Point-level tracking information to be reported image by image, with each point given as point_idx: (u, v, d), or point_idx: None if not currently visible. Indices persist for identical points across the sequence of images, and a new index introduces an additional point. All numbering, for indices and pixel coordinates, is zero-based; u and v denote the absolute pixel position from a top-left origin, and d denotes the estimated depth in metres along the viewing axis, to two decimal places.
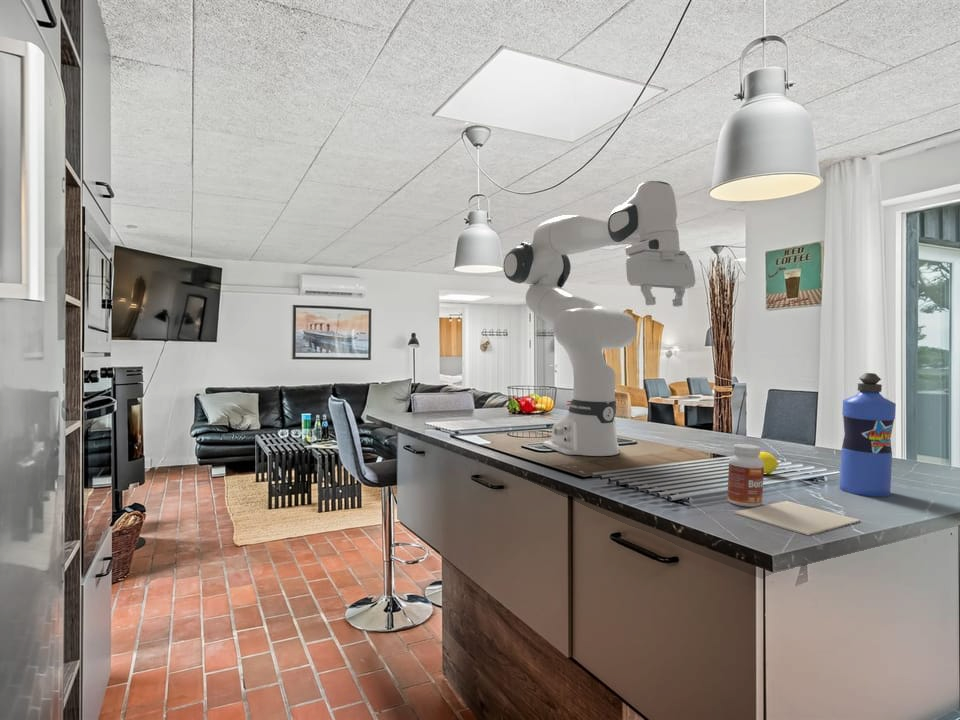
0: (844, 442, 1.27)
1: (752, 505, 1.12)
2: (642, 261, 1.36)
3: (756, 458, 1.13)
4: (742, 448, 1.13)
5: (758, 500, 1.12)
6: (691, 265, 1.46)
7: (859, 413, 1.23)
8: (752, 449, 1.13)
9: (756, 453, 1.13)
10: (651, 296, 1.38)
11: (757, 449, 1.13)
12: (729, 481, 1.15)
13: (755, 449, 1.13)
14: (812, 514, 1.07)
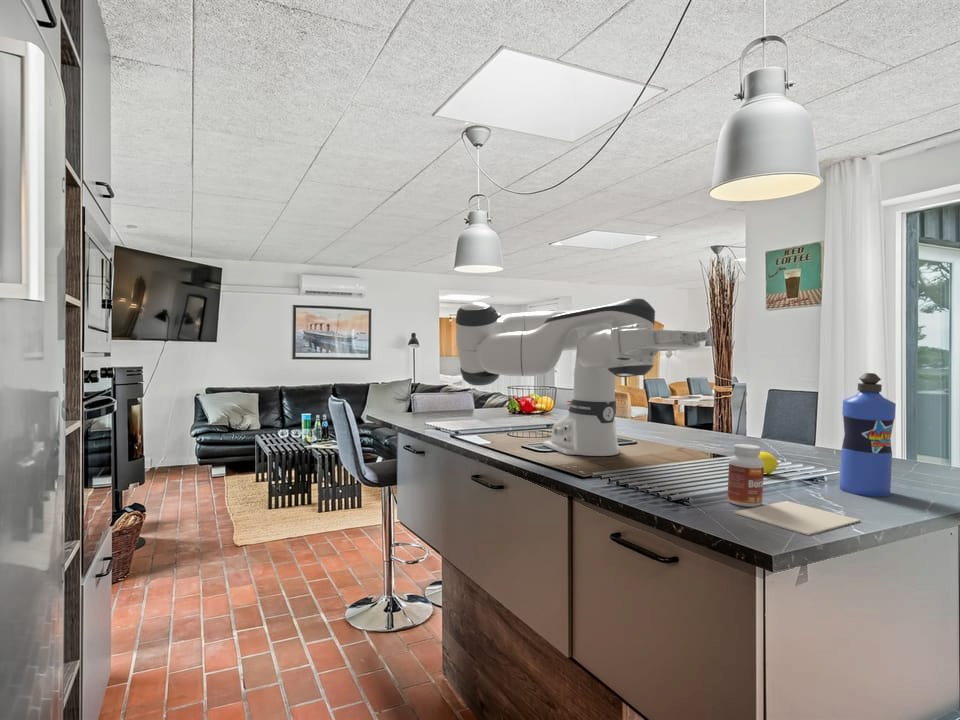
0: (844, 442, 1.27)
1: (752, 505, 1.12)
2: (626, 329, 1.22)
3: (756, 458, 1.13)
4: (742, 448, 1.13)
5: (758, 500, 1.12)
6: None
7: (859, 413, 1.23)
8: (752, 449, 1.13)
9: (756, 453, 1.13)
10: (670, 331, 1.18)
11: (757, 449, 1.13)
12: (729, 481, 1.15)
13: (755, 449, 1.13)
14: (812, 514, 1.07)
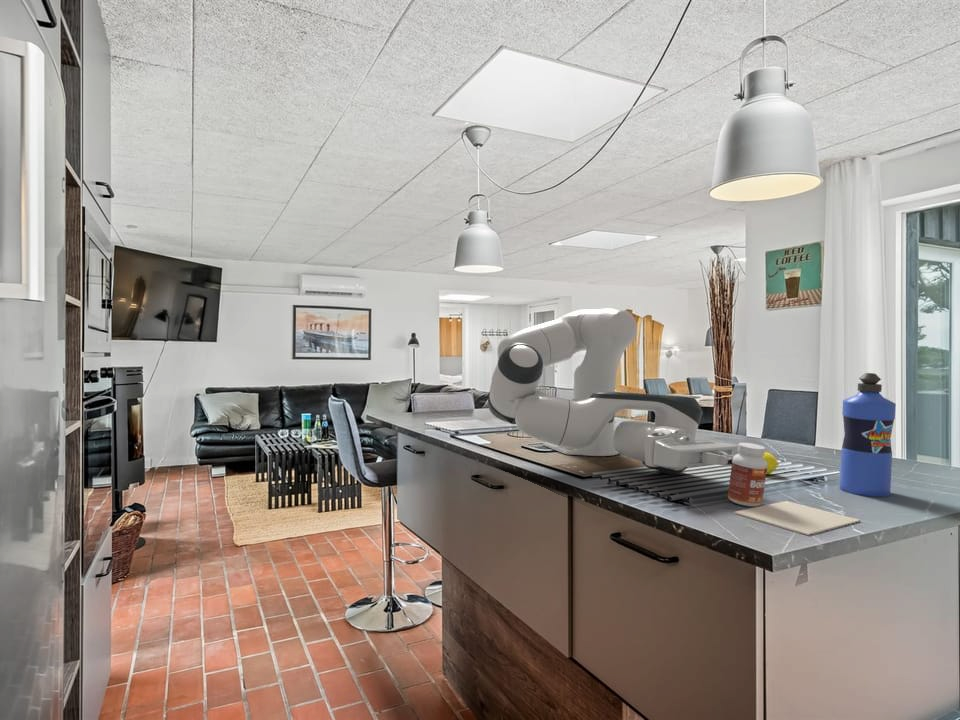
0: (844, 442, 1.27)
1: (752, 504, 1.12)
2: (661, 443, 1.20)
3: (760, 459, 1.12)
4: (747, 448, 1.12)
5: (758, 501, 1.12)
6: None
7: (859, 413, 1.23)
8: (757, 450, 1.12)
9: (760, 454, 1.12)
10: (718, 455, 1.17)
11: (762, 450, 1.12)
12: (731, 479, 1.15)
13: (760, 450, 1.12)
14: (812, 514, 1.07)
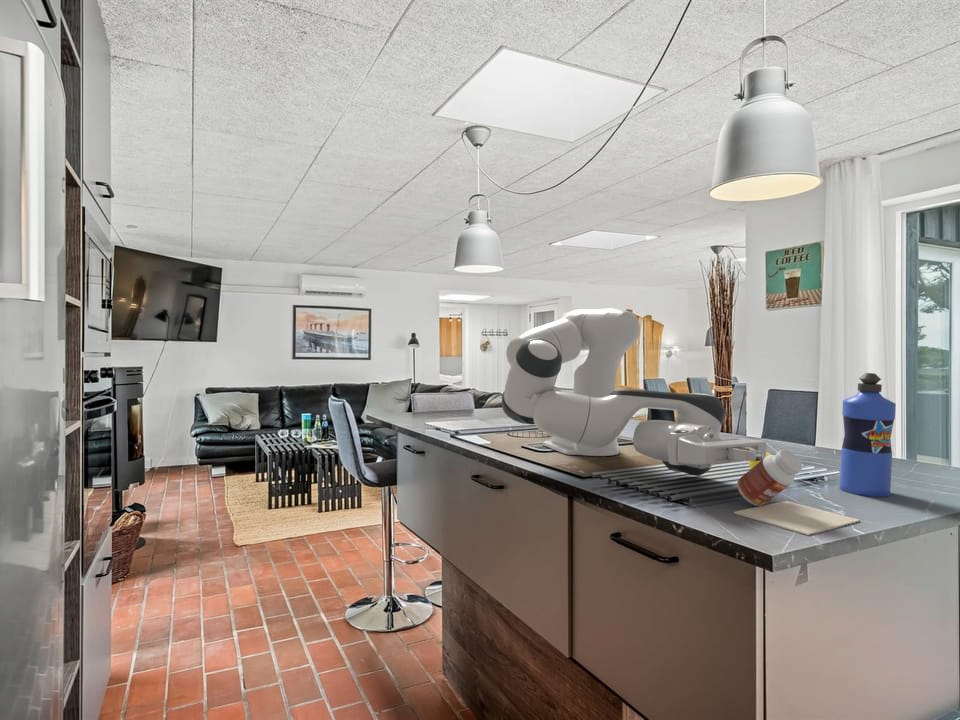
0: (844, 442, 1.27)
1: (754, 504, 1.12)
2: (685, 439, 1.15)
3: (789, 476, 1.08)
4: (785, 463, 1.06)
5: (762, 503, 1.12)
6: (741, 438, 1.25)
7: (859, 413, 1.23)
8: (793, 470, 1.06)
9: (794, 473, 1.07)
10: (746, 450, 1.13)
11: (797, 471, 1.06)
12: (750, 474, 1.12)
13: (796, 471, 1.06)
14: (812, 514, 1.07)
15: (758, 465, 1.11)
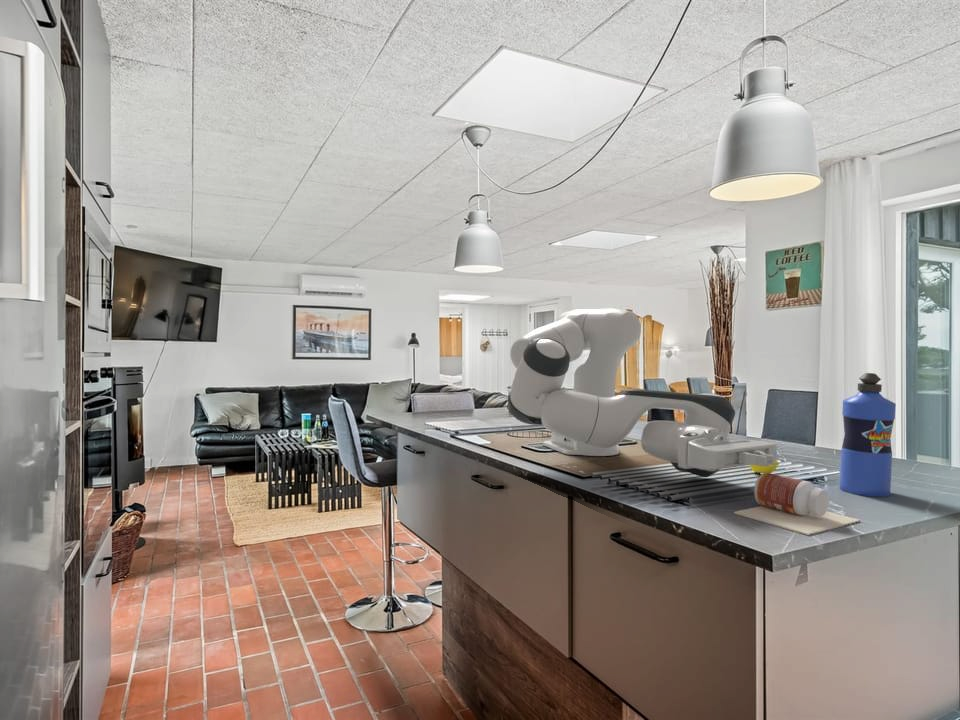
0: (844, 442, 1.27)
1: (757, 502, 1.12)
2: (695, 444, 1.14)
3: (808, 512, 1.05)
4: (814, 504, 1.03)
5: None
6: None
7: (859, 413, 1.23)
8: (816, 513, 1.03)
9: (813, 514, 1.04)
10: (757, 455, 1.12)
11: (818, 515, 1.04)
12: (778, 482, 1.08)
13: (817, 514, 1.04)
14: (812, 514, 1.07)
15: (791, 483, 1.07)
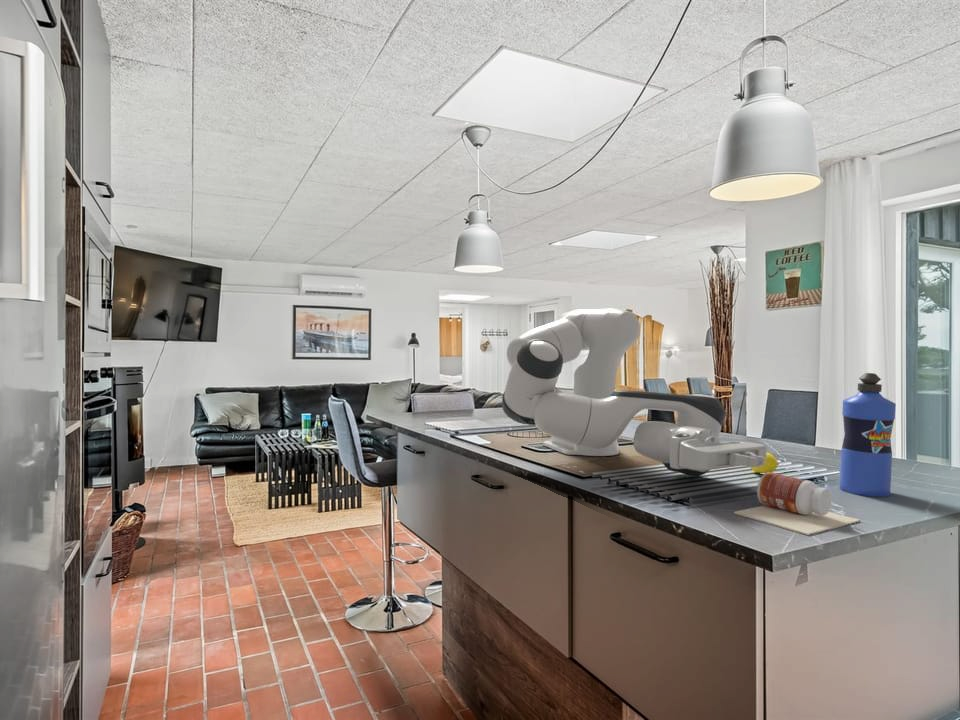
0: (844, 442, 1.27)
1: (759, 498, 1.12)
2: (687, 444, 1.16)
3: (809, 510, 1.06)
4: (818, 499, 1.03)
5: (764, 503, 1.12)
6: (741, 441, 1.26)
7: (859, 413, 1.23)
8: (817, 509, 1.04)
9: (814, 511, 1.05)
10: (747, 456, 1.13)
11: (819, 513, 1.04)
12: (783, 479, 1.09)
13: (818, 512, 1.04)
14: (812, 514, 1.07)
15: (796, 480, 1.08)
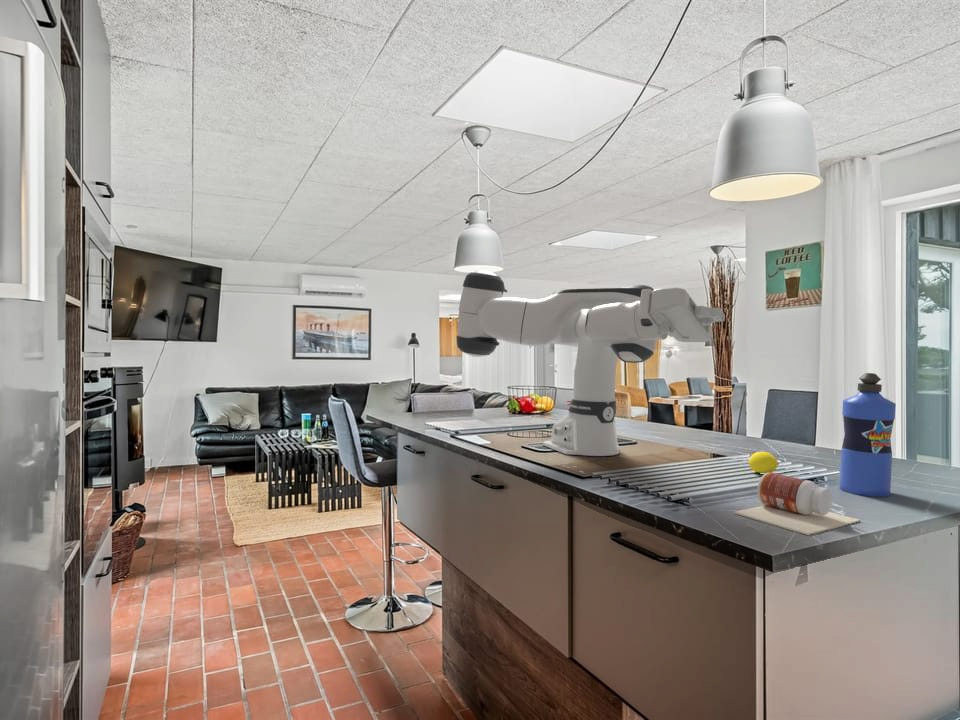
0: (844, 442, 1.27)
1: (759, 497, 1.12)
2: None
3: (809, 509, 1.06)
4: (818, 499, 1.03)
5: (765, 503, 1.12)
6: None
7: (859, 413, 1.23)
8: (818, 509, 1.04)
9: (814, 511, 1.05)
10: None
11: (819, 513, 1.04)
12: (783, 478, 1.09)
13: (818, 511, 1.04)
14: (812, 514, 1.07)
15: (797, 479, 1.08)
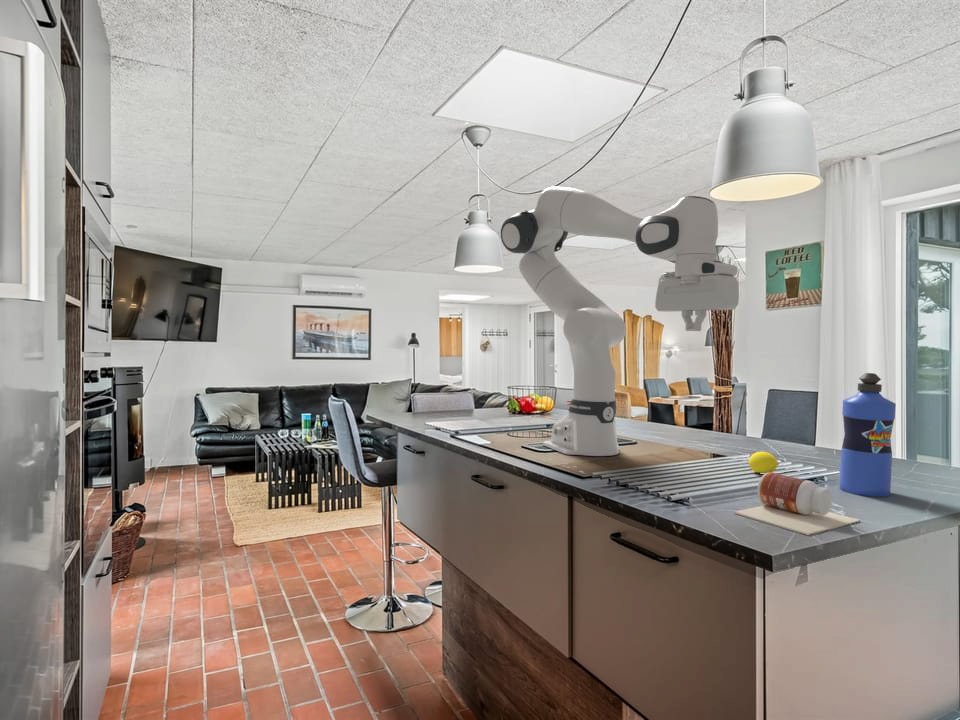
0: (844, 442, 1.27)
1: (759, 497, 1.12)
2: None
3: (809, 509, 1.06)
4: (818, 499, 1.03)
5: (765, 503, 1.12)
6: None
7: (859, 413, 1.23)
8: (818, 509, 1.04)
9: (814, 511, 1.05)
10: None
11: (819, 513, 1.04)
12: (783, 478, 1.09)
13: (818, 511, 1.04)
14: (812, 514, 1.07)
15: (797, 479, 1.08)
